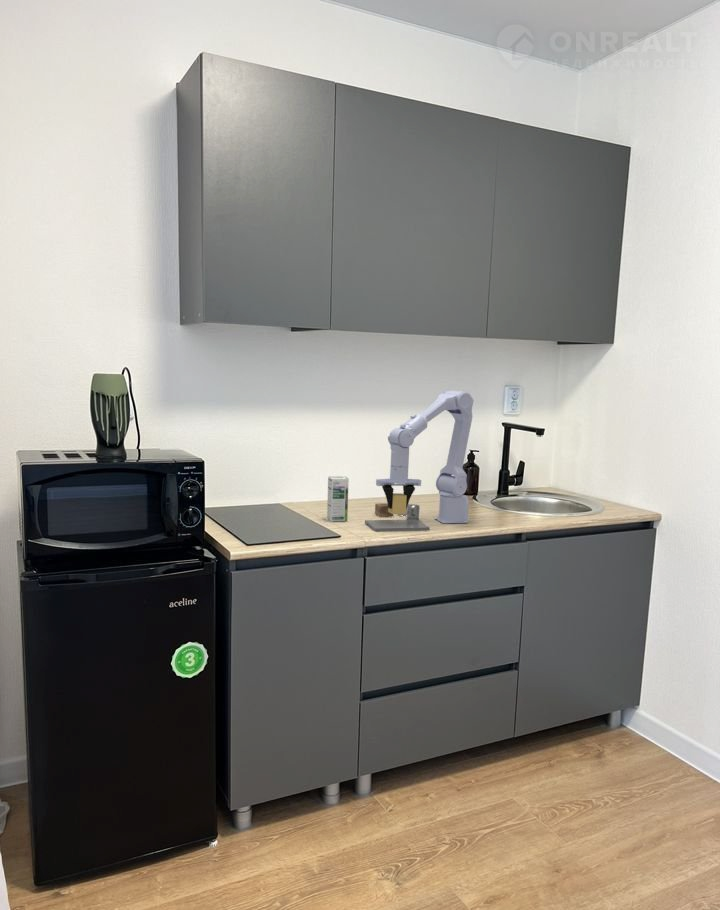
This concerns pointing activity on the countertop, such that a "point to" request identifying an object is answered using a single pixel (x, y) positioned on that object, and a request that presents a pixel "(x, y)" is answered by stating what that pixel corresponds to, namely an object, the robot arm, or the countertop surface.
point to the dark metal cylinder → (413, 512)
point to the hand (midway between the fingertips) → (397, 508)
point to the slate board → (396, 525)
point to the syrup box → (337, 498)
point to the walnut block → (382, 510)
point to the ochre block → (398, 504)
